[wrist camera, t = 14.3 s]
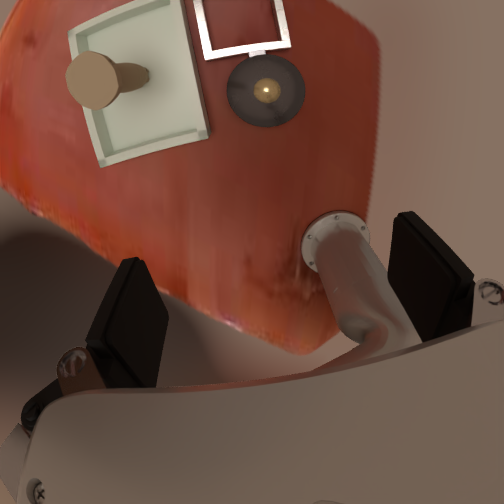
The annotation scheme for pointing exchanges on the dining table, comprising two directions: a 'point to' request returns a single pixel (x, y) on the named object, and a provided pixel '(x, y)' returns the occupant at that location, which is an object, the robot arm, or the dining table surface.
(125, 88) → the handle
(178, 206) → the dining table surface
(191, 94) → the tray
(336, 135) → the dining table surface
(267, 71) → the bracket
